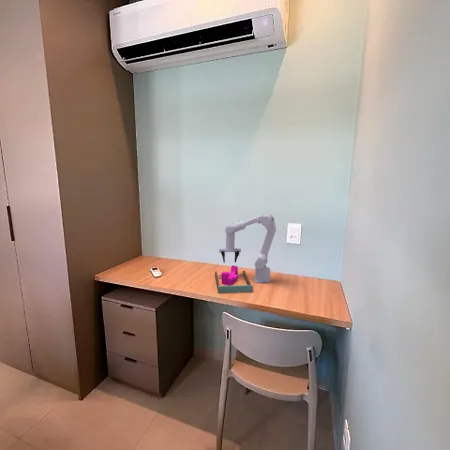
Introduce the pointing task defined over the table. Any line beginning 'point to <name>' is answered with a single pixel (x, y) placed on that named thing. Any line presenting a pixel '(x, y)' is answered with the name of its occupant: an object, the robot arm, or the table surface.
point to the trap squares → (221, 276)
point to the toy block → (230, 276)
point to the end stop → (235, 289)
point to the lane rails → (243, 276)
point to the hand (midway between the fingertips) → (229, 262)
